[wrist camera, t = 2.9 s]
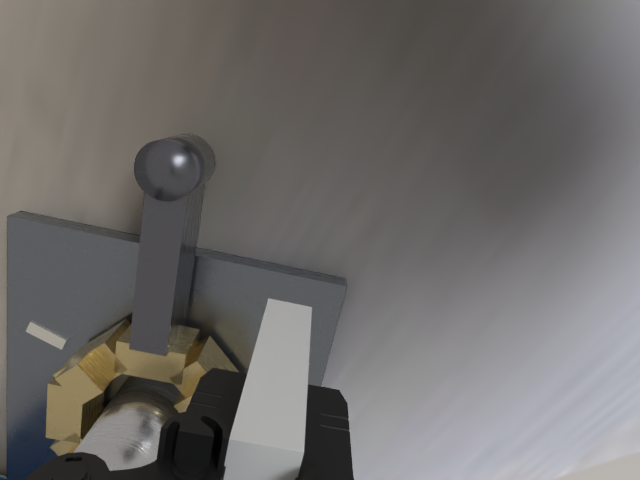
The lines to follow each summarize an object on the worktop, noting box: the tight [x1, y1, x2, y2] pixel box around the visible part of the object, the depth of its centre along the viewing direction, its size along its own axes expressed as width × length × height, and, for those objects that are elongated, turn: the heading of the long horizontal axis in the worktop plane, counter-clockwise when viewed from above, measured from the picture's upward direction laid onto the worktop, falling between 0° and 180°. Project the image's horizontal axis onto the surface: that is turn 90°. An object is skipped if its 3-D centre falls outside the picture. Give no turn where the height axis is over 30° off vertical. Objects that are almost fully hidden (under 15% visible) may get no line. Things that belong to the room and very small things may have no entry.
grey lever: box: [46, 134, 239, 456], centre depth 25 cm, size 22×11×4 cm, turn 168°
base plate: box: [7, 211, 347, 480], centre depth 26 cm, size 20×20×8 cm
